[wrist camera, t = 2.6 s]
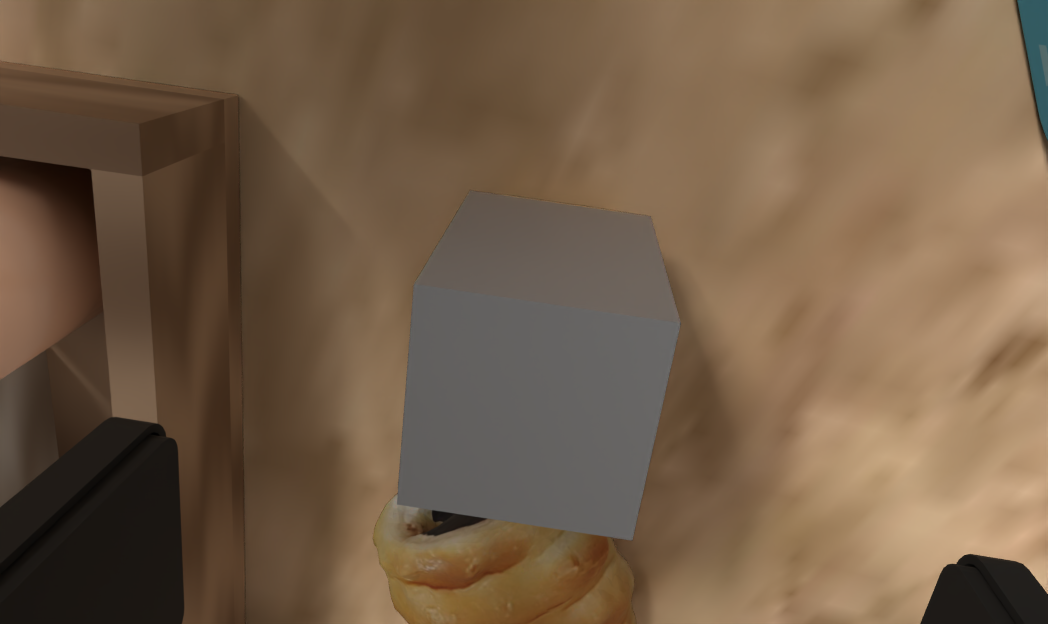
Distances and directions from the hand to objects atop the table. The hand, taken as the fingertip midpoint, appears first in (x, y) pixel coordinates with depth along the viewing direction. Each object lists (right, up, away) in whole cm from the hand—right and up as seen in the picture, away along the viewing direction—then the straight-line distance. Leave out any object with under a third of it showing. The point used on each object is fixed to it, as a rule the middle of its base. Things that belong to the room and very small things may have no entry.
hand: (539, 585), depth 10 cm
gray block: (+1, +5, +10) cm, 11 cm away
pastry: (0, -4, +14) cm, 15 cm away
